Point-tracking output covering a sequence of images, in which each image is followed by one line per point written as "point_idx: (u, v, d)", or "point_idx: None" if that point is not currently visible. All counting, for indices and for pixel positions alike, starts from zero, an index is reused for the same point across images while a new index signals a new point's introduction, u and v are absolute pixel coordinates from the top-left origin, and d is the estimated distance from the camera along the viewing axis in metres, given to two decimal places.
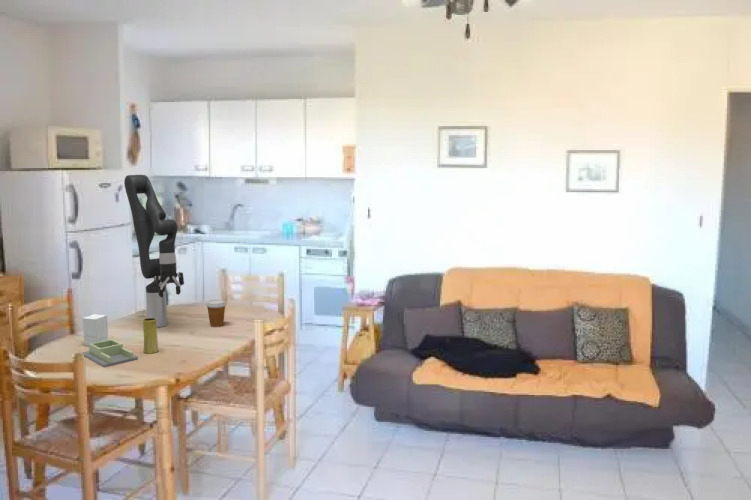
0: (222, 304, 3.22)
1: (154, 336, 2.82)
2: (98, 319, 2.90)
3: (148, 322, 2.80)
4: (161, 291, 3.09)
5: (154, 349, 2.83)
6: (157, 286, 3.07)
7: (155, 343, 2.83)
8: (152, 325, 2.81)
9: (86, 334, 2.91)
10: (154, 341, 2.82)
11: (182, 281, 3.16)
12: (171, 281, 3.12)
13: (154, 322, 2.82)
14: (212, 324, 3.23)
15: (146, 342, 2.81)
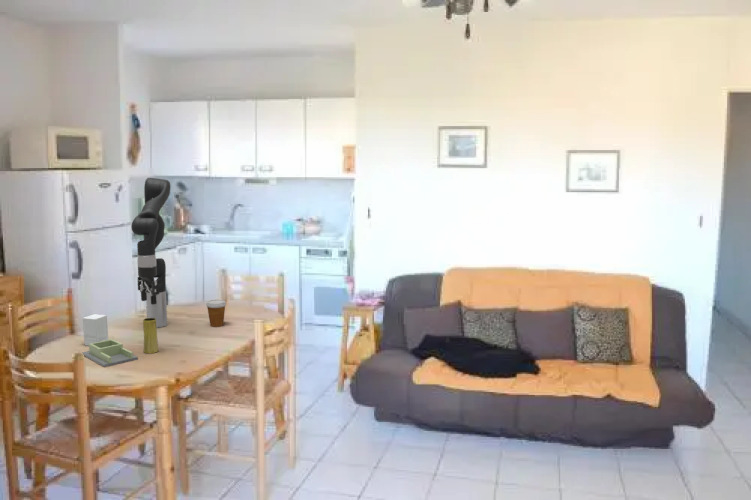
0: (222, 304, 3.22)
1: (154, 336, 2.82)
2: (98, 319, 2.90)
3: (148, 322, 2.80)
4: (155, 297, 2.78)
5: (154, 349, 2.83)
6: None
7: (155, 343, 2.83)
8: (152, 325, 2.81)
9: (86, 334, 2.91)
10: (154, 341, 2.82)
11: None
12: None
13: (154, 322, 2.82)
14: (212, 324, 3.23)
15: (146, 342, 2.81)
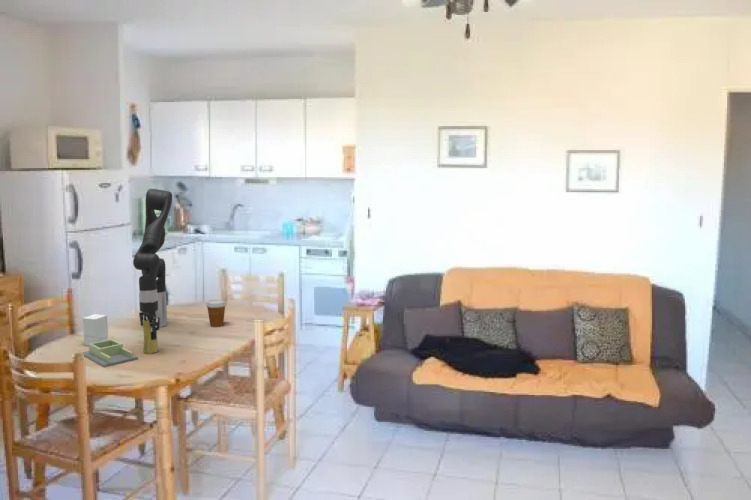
0: (222, 304, 3.22)
1: None
2: (98, 319, 2.90)
3: None
4: (155, 332, 2.82)
5: (154, 349, 2.83)
6: None
7: (155, 343, 2.83)
8: None
9: (86, 334, 2.91)
10: (154, 341, 2.82)
11: None
12: None
13: None
14: (212, 324, 3.23)
15: (146, 342, 2.81)
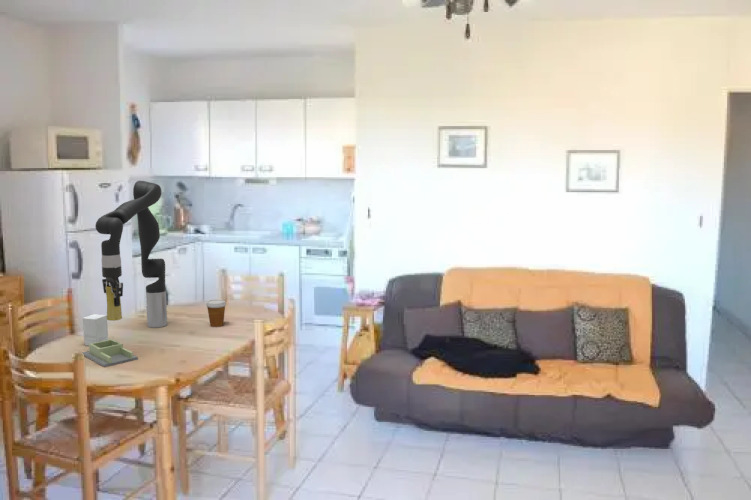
0: (222, 304, 3.22)
1: None
2: (98, 319, 2.90)
3: None
4: None
5: (117, 316, 2.75)
6: None
7: (119, 310, 2.75)
8: (115, 292, 2.74)
9: (86, 334, 2.91)
10: (117, 308, 2.75)
11: None
12: None
13: None
14: (212, 324, 3.23)
15: (109, 309, 2.74)
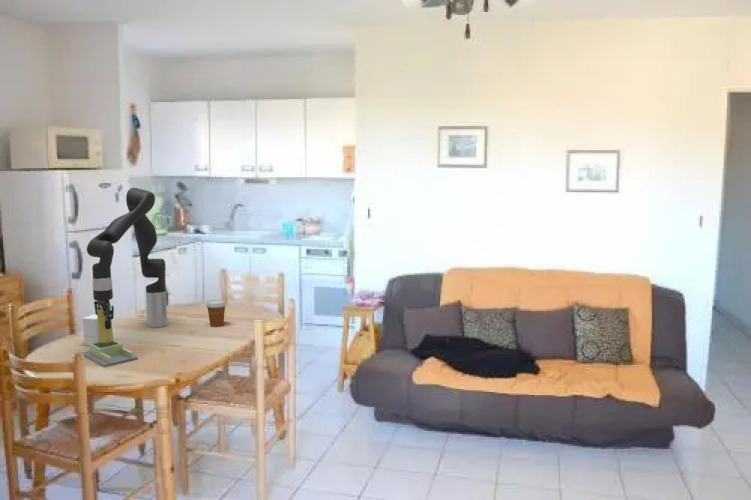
0: (222, 304, 3.22)
1: None
2: None
3: None
4: None
5: (108, 339, 2.76)
6: None
7: (110, 332, 2.76)
8: None
9: (86, 334, 2.91)
10: (108, 330, 2.75)
11: None
12: None
13: None
14: (212, 324, 3.23)
15: (100, 331, 2.75)
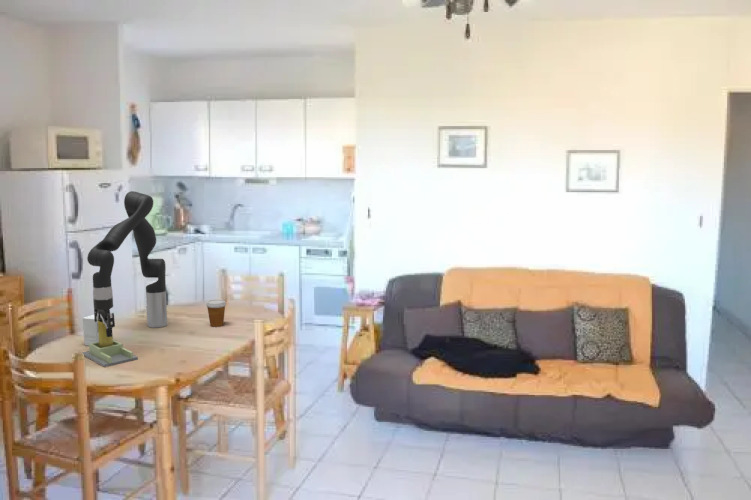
0: (222, 304, 3.22)
1: (109, 337, 2.76)
2: None
3: (102, 323, 2.74)
4: (111, 329, 2.74)
5: None
6: None
7: (110, 344, 2.77)
8: None
9: (86, 334, 2.91)
10: (109, 342, 2.76)
11: None
12: None
13: None
14: (212, 324, 3.23)
15: (101, 343, 2.75)
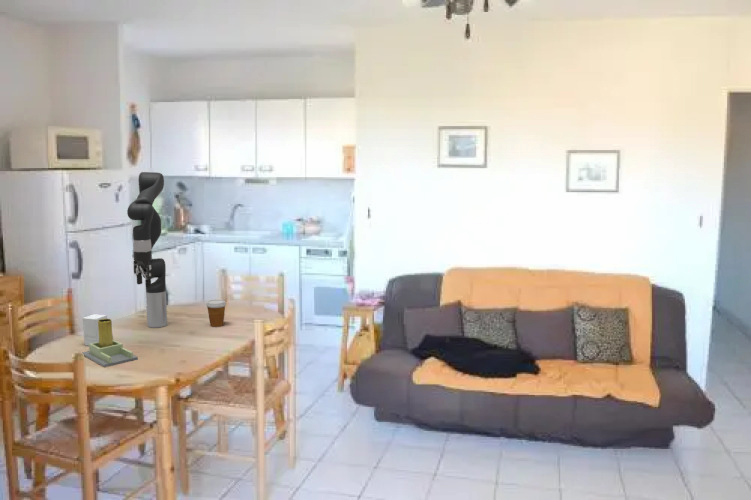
0: (222, 304, 3.22)
1: (109, 337, 2.76)
2: (98, 319, 2.90)
3: (103, 323, 2.74)
4: None
5: None
6: None
7: (110, 344, 2.77)
8: (107, 326, 2.75)
9: (86, 334, 2.91)
10: (109, 343, 2.76)
11: None
12: None
13: (109, 323, 2.76)
14: (212, 324, 3.23)
15: (101, 343, 2.75)
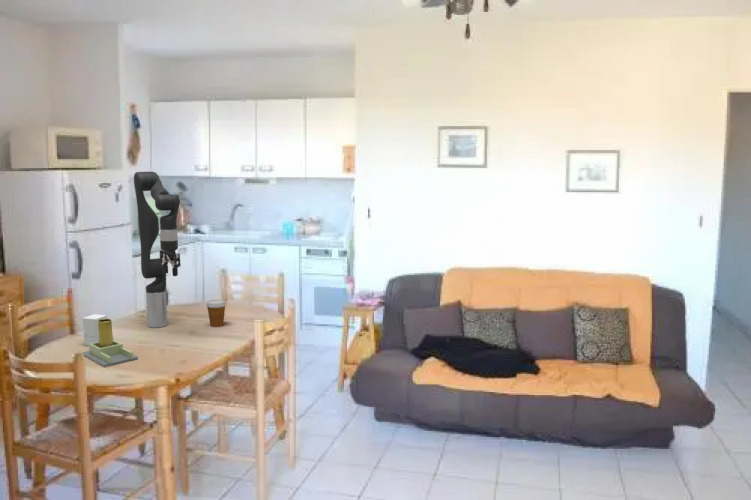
0: (222, 304, 3.22)
1: (109, 337, 2.76)
2: (98, 319, 2.90)
3: (103, 323, 2.74)
4: None
5: None
6: None
7: (110, 344, 2.77)
8: (107, 326, 2.75)
9: (86, 334, 2.91)
10: (109, 343, 2.76)
11: None
12: None
13: (109, 323, 2.76)
14: (212, 324, 3.23)
15: (101, 343, 2.75)
